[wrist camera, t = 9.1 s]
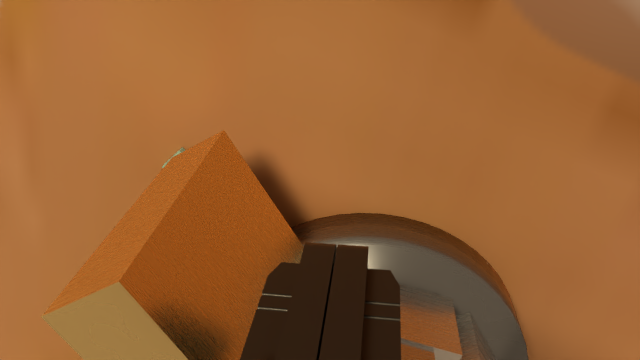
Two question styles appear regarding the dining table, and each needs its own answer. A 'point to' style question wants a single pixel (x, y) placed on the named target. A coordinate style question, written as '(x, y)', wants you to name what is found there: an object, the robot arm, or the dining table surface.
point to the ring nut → (212, 273)
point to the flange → (429, 269)
